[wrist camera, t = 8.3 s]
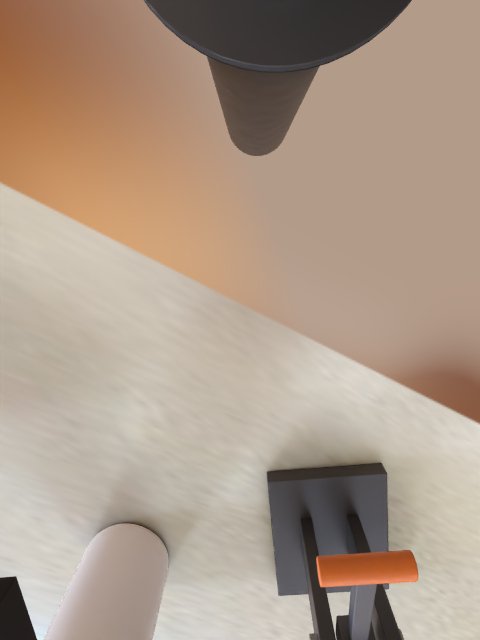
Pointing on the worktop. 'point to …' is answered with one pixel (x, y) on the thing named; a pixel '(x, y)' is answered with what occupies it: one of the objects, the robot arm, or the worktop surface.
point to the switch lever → (363, 584)
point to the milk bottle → (114, 588)
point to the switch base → (329, 534)
